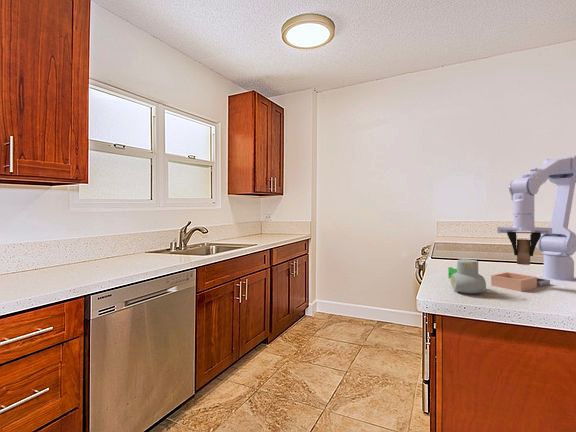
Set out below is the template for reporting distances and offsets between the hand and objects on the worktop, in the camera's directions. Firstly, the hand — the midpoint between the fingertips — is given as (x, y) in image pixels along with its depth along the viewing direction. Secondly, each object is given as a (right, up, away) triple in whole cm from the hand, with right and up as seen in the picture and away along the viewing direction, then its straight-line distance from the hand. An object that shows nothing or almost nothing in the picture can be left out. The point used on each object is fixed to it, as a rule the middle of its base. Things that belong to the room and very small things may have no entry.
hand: (523, 255), depth 106 cm
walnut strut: (0, -3, 0) cm, 3 cm away
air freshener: (-21, -11, -4) cm, 24 cm away
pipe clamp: (-17, -11, +8) cm, 22 cm away
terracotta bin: (-4, -11, -1) cm, 11 cm away
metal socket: (+5, -10, +2) cm, 11 cm away
